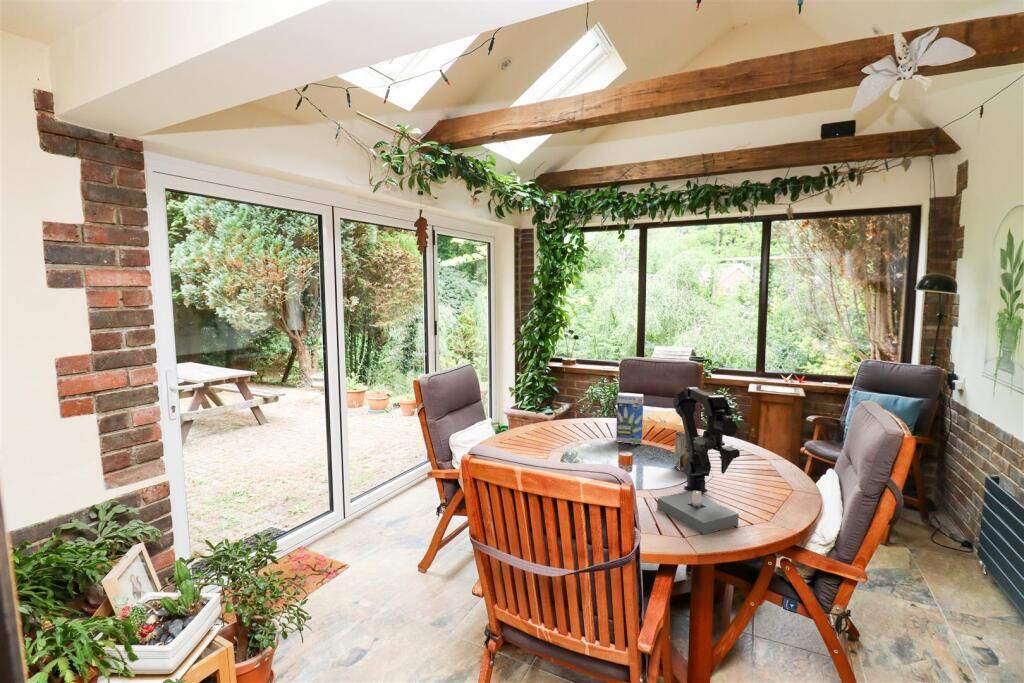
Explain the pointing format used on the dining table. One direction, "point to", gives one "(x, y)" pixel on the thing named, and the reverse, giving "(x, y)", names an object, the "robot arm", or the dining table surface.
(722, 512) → the hole block
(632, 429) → the string lights box
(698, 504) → the steel peg
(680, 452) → the coffee box
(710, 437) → the robot arm
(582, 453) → the dining table surface
